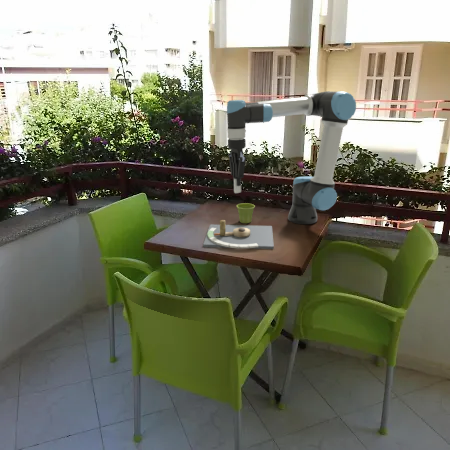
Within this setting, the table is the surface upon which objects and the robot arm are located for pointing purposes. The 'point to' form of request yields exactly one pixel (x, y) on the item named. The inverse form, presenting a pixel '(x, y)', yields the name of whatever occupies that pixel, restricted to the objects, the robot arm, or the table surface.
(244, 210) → the plant pot
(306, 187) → the robot arm
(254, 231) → the scale board
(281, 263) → the table surface
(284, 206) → the table surface
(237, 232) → the dial
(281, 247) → the table surface
